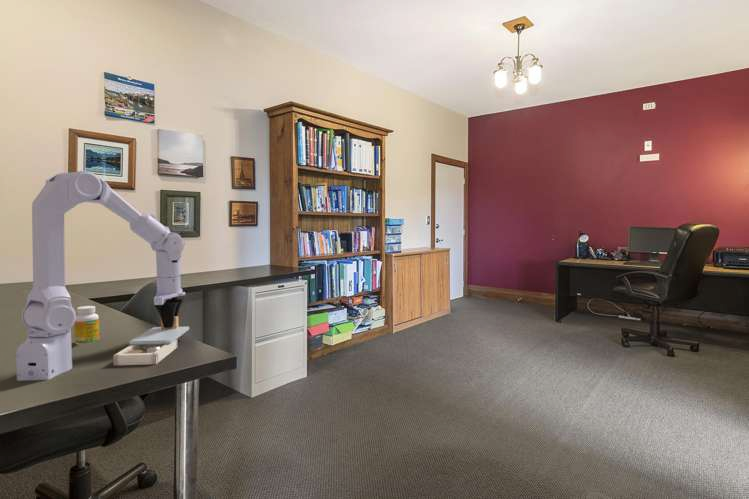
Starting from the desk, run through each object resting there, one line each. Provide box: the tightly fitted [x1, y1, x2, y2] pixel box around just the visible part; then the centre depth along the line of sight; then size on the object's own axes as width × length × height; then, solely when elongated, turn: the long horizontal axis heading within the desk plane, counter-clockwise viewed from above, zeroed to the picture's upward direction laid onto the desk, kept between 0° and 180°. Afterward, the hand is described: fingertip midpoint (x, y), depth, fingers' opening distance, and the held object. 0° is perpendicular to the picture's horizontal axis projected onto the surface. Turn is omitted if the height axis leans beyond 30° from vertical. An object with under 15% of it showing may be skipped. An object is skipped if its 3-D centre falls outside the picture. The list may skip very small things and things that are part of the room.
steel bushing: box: [147, 346, 160, 353], centre depth 97 cm, size 3×3×2 cm
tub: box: [112, 337, 179, 366], centre depth 97 cm, size 13×9×3 cm
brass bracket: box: [125, 350, 143, 354], centre depth 93 cm, size 3×3×2 cm
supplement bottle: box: [74, 305, 100, 346], centre depth 110 cm, size 5×5×10 cm
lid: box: [128, 315, 190, 345], centre depth 105 cm, size 13×9×4 cm
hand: (169, 326), depth 111 cm, fingers closed on lid, 2 cm apart
